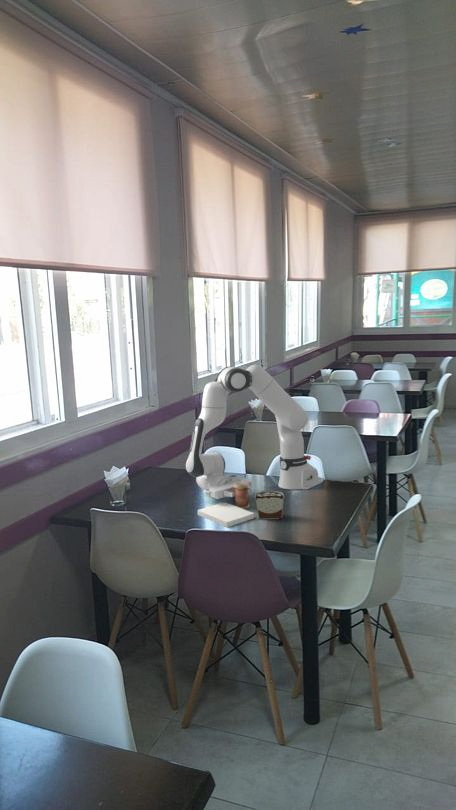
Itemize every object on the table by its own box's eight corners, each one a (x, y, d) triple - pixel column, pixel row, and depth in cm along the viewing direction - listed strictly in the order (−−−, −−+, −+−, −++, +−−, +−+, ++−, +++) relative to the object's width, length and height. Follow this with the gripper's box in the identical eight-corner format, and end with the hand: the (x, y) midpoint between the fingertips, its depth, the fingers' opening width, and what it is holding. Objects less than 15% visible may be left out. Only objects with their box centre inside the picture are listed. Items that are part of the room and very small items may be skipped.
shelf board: (224, 506, 244) (224, 502, 244) (254, 518, 228) (254, 513, 228) (197, 514, 236) (197, 510, 236) (226, 527, 220) (226, 522, 220)
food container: (286, 513, 232) (285, 489, 230) (286, 518, 226) (285, 494, 224) (255, 513, 233) (254, 490, 232) (255, 519, 227) (253, 495, 226)
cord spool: (243, 503, 247) (242, 481, 245) (252, 506, 242) (251, 484, 240) (232, 507, 243) (230, 484, 241) (241, 510, 238) (240, 487, 237)
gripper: (202, 484, 245) (221, 490, 235) (239, 474, 258) (259, 480, 247) (203, 498, 246) (222, 505, 236) (240, 487, 259) (260, 494, 248)
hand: (241, 492), depth 241 cm, fingers open, 8 cm apart
